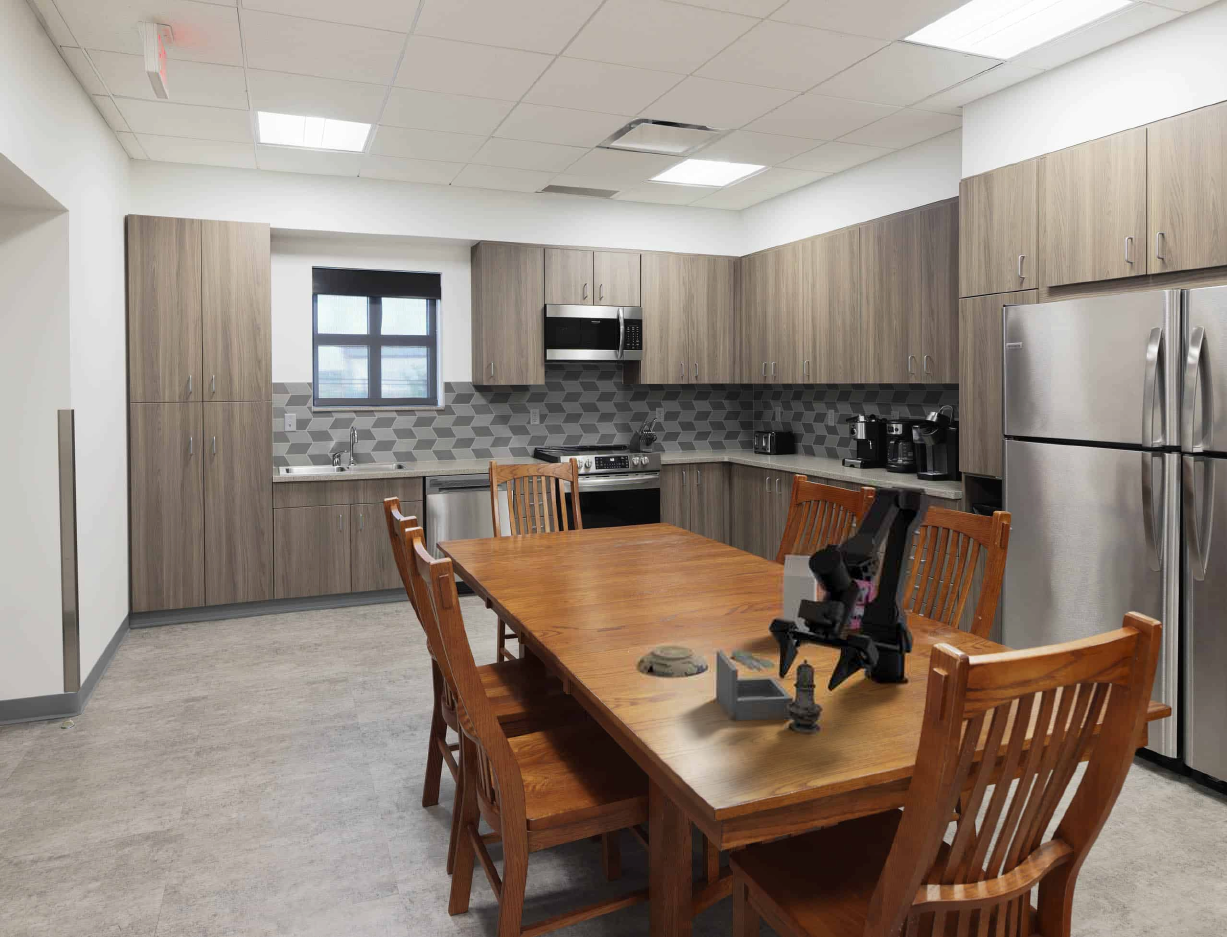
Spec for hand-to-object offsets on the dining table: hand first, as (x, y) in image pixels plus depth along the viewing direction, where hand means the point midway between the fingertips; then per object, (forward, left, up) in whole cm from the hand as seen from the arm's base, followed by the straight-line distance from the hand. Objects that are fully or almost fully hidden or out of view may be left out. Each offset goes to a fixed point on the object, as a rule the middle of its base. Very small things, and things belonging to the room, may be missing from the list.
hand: (804, 683), depth 140 cm
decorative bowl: (+16, -35, -8) cm, 39 cm away
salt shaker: (0, 0, -8) cm, 8 cm away
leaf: (-2, -30, -8) cm, 31 cm away
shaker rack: (+6, -10, -8) cm, 14 cm away
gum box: (-36, -67, -8) cm, 77 cm away
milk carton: (-18, -53, -8) cm, 57 cm away
